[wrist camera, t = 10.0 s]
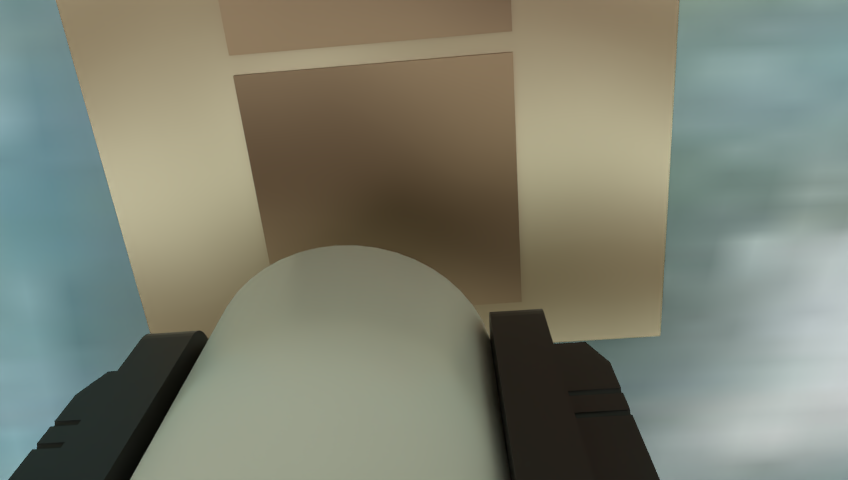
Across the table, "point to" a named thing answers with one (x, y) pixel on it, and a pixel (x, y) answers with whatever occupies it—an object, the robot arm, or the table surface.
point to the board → (389, 146)
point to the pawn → (338, 379)
